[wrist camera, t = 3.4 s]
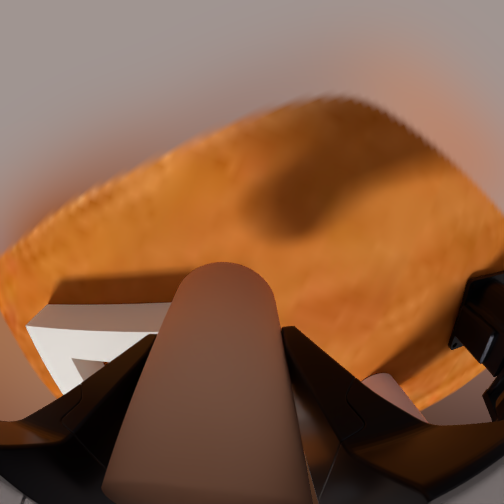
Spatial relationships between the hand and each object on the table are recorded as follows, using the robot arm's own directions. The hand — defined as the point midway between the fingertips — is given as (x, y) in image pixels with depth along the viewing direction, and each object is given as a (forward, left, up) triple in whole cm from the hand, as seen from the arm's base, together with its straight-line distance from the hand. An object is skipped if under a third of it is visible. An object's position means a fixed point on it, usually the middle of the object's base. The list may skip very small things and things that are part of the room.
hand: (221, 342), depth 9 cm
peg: (0, 0, -2) cm, 2 cm away
